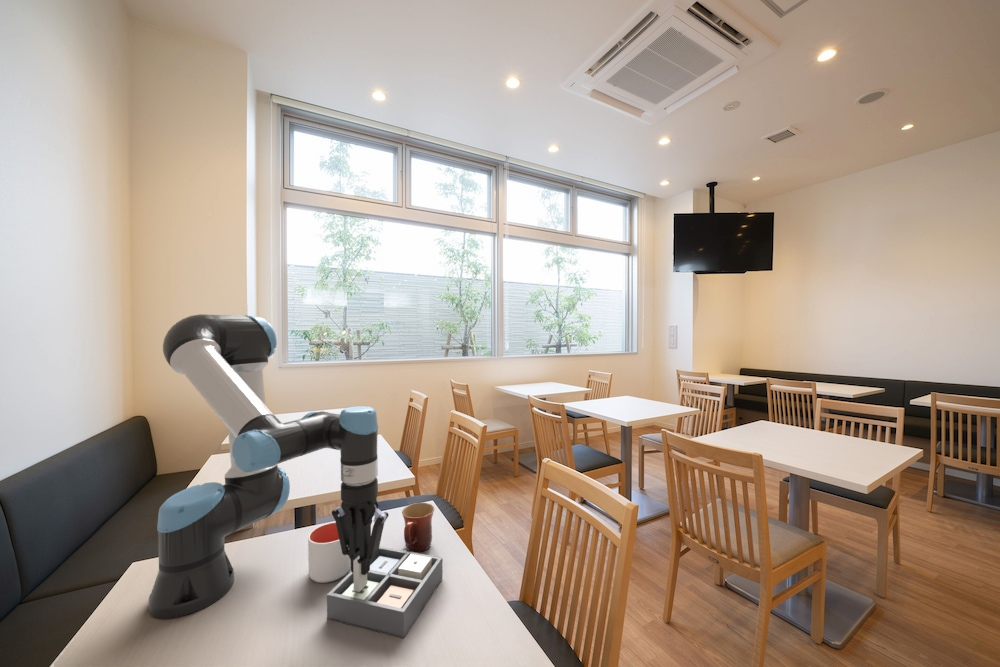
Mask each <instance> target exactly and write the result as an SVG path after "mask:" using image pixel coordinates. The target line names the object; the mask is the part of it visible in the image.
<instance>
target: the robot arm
mask: <svg viewBox="0 0 1000 667" xmlns="http://www.w3.org/2000/svg"><path fill="white" fill-rule="evenodd" d="M277 345H278V341H277V335H276V331H275V330H274V328H273V326H272V324H271V323H270V322H268V320H267V319H266V318H264V317H260V316H256V315H255V316H253V315H247V314H244V315H243V314H242V315H241V314H237V315H235V314H227V315H226V314H206V313H205V314H194V315H190V316H187V317H185V318H182V319H180V320H178V321H177V322H176V323H174V325H172V326H171V327H170V328H169V329H168V331H167V333H166V334H165V336H164V339H163V343H162V353H163V357H164V359H165V361H166V362H167V363H168V365H169V367H171V369H172V370H173V371H174V372H176V373H177V374H181V375H184V376H185V377H186V378H187V380H188V381H189V382H190V383H191V384H192V386H193V387H194V388H195V389H196V391H197V392H198V393H199V394H200V395H201V397H202V398H203V399H204V401H206V403H207V404H208V406H209V407H210V408H211V409H212V410H213V412H214V413H215V414H216V415H217V417H219V419H220V420H221V421H222V423H223V424H224V425H225V426H226V428H227V433H228V443H229V444H228V445H229V457H230V458H229V459H230V468H229V469H228V470H227V472H226V473H225V474H224V484H222V483H221V482H215V481H214V482H212V481H211V482H205V483H203V484H196V485H192V486H190V487H188V488H185V489H183V490H180V491H178V492H176V493H174V494H172V495H171V496H170V497H168V498H167V499H166V500H165V501H164V502H163V503H162V504H161V506H160V507H159V510H158V514H157V515H158V516H157V524H156V528H157V544H158V547H157V548H158V572H157V575H156V578H155V581H154V583H153V585H152V586H153V587H152V589H151V593H150V594H149V597H148V600H147V602H148V608H147V609H148V613H149V615H150V616H151V617H153V618H156V619H161V620H162V619H164V620H165V619H173V618H179V617H184V616H186V615H190V614H193V613H195V612H197V611H200V610H202V609H205V608H206V607H208V606H210V605H212V604H214V603H215V602H217V601H218V600H220V599H221V598H223V597H224V596H225V595H226V594H227V593H228V592H229V591H230V590H231V589H232V587H233V585H234V583H235V571H234V567H233V565H232V563H231V560H230V559H229V557H228V555H227V553H226V550H225V538H226V537H227V536H229V535H231V534H233V533H235V532H237V531H240V530H242V529H244V528H246V527H248V526H251V525H252V524H255V523H257V522H260V521H262V520H266V519H267V518H269V517H271V516H272V515H273V514H276V513H278V512H279V511H280V510H281V509H283V508H284V506H285V505H286V504H287V501H288V499H289V496H290V493H291V492H290V491H291V490H290V489H291V484H290V482H291V481H290V478H289V476H288V475H287V472H286V471H285V470H284V469H283V468H282V467H279V465H278V464H281V463H283V462H288V461H290V460H293V459H295V458H298V457H302V456H305V455H306V456H307V455H309V454H311V453H313V452H317V451H319V450H323V449H332V450H336V451H339V452H340V458H339V460H340V481H341V483H340V500H341V503H340V505H339V506H338V507H336V508H334V509H333V510H332V511H331V516H332V518H333V519H334V521H335V522H336V526H337V531H338V535H339V540H340V545H341V550H342V554H343V555H346V554H347V555H348V556H349V558H350V559H351V568H350V572H352V573H353V579H354V591H357V592H360V591H361V590H362V589H363V588H364V587H365V586H366V584H367V573H368V572H369V570H370V560H371V559H372V558H373V557H374V556H375V555H376V554H377V553H378V550H379V546H380V545H381V542H382V541H381V540H382V534H383V530H384V527H385V522H386V521H387V519H388V517H389V516H390V515H389V513H388V512H387V511H384V512H383V511H381V509H379V508H380V506H379V503H378V501H377V500H378V495H379V494H378V493H379V483H378V482H379V479H378V478H377V477H378V475H379V460H378V429H379V425H378V417H377V416H378V415H377V410H376V409H375V408H373V407H372V406H366V405H363V406H360V405H359V406H351V407H346V408H344V409H342V410H341V411H340V414H339V413H333V412H328V411H323V410H322V411H310V412H308V413H307V414H305V415H304V416H303V417H301V418H299V419H295V420H291V421H287V422H282V421H280V419H279V418H277V416H276V415H275V414H274V413H273V412H272V411H271V410H270V409H269V408H268V407H267V406H266V396H265V384H264V375H263V371H264V369H265V367H267V365H268V364H269V358H270V357H271V356H273V355H274V353H275V351H276V348H277ZM372 523H373V525H372ZM347 545H348V546H347ZM380 547H381V546H380Z"/></svg>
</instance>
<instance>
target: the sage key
mask: <svg viewBox="0 0 1000 667" xmlns="http://www.w3.org/2000/svg"><path fill="white" fill-rule="evenodd" d="M378 584H379V583H378V582H373V581H368V580H367V584H366V586H365V587H364V588H363V589H362V590H361V591H360V592H357V591H354V583H353V584H352V585H351V586H350V587H349V588H348V589H347V590H346V591H345V592H344V593H343V594H342V595H345V596H349V597H354V598H358V599H363V600H365V599H366V598H367V597H368V596H369V595H370V593H371V592H372V591H373V590H374V589H375V588H376V587H377V586H378Z"/></svg>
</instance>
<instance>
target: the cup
mask: <svg viewBox="0 0 1000 667" xmlns="http://www.w3.org/2000/svg"><path fill="white" fill-rule="evenodd" d="M307 538H308V540H307V542H308V544H307V547H308V550H307V552H308V554H307V555H308V576H309V578H310V580H312V581H314V582H316V583H320V584H321V583H322V584H323V583H331V582H334V581H336V580H339V579H342V577H343V578H344V576H346V575H347V573H349V571H351V559H350V558H349V556H348V555H347V554H346V555H343V554H342V550H341V545H340V540H339V535H338V531H337V526H336V521H335V522H330V523H325V524H323V525H320V526H318V527H316V528H314V529H313V530H312V531H311V532H310V533H309V534H308V537H307ZM347 546H348V545H347Z"/></svg>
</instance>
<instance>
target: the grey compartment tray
mask: <svg viewBox="0 0 1000 667" xmlns="http://www.w3.org/2000/svg"><path fill="white" fill-rule="evenodd" d="M410 554H414V555H419V556H425V557H430V558H432V568H431V569H430V571H429V572H428V573H427V575H426V576H425V578H424V579H423V580H419V579H414V578H409V577H404V576H399V575H398V568H399V567H400V566H401V565H402V563H403V562H404V561H405V560H406V559H407V558H408V556H409V555H410ZM379 556H383V557H388V558H393V559H399V560H400V561H399V562H398V563H397V564H396V565H395V566H394V567H393V569H392V570H391V571H390V572H389V573H384V572H379V571H374V570H369V572H368V573H367V580H368V581H373V582H378V583H379V584H378V586H377V587H376V588H375V589H374V590H373V591H372V592H371V593H370V595H369V596H368V597H367V598H366V599H365V600H363V599H358V598H354V597H349V596H345V595H342V594H343V593H344V592H345V591H346V590H347V589H348V588H349V587H350V586H351V585H352V584H353V583H354V579H353V573H352V572H351V571H350V572H348V574H346V575H345V577H343V578H342V580H340V582H339V583H337V584H336V585H335V586H334V587H333V588H332V589H331V590H330V591H329V592H328V593H327V594H326V620H330V621H333V622H335V623H336V622H337V623H340V624H344V625H348V626H349V625H350V626H353V627H356V628H361V629H365V630H370V631H372V632H377V633H381V634H385V635H389V636H393V637H396V638H400V639H405V637H406V636H407V635H408V633H409V632H410V630H411V628H412V626H413V625H414V623H415V622H416V620H417V619H418V618H419V616H420V614H421V613H422V611H423V610H424V608H425V606H426V605H427V603H428V602H429V600H430V599H431V597H432V595H433V594H434V592H436V589H437V588H438V586H439V585H440V583H441V582H442V580H443V557H441V556H435V555H432V554H431V555H430V554H424V553H420V552H411V551H409V550H408V551H407V550H402V549H398V548H397V549H395V548H390V547H384V546H379V550H378V553H377V554H376V555H375V556H374V557H373V558H372V559H371V560H370V565H371V564H372V563H373V562H374V561H375V560H376V559H377V558H378V557H379ZM391 585H392V586H397V587H402V588H406V589H411V590H414V593H413V594H412V596H411V597H410V598H409V600H408V601H407V602H406V604H405V605H404V607H403V608H398V607H394V606H389V605H385V604H380V603H377V602H378V600H379V599H380V598H381V597H382V596H383V594H384V593H385V592H386V591H387V590H388V588H389V587H390V586H391Z"/></svg>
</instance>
